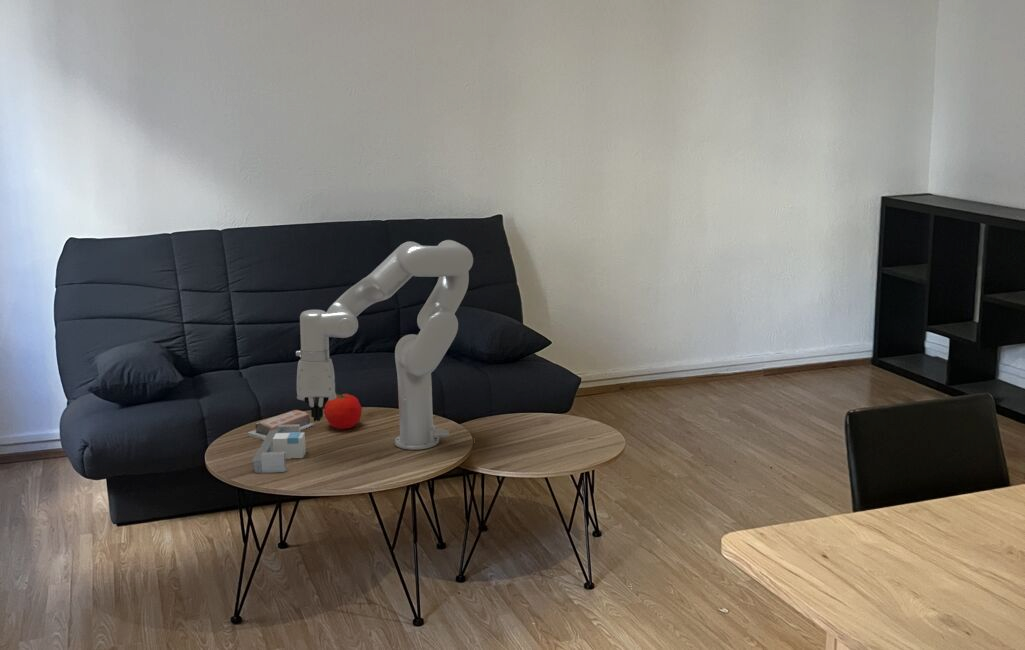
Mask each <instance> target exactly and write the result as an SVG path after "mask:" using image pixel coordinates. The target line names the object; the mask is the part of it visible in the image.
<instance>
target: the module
mask: <svg viewBox="0 0 1025 650" xmlns="http://www.w3.org/2000/svg"><path fill="white" fill-rule="evenodd" d="M305 436H306V434H305V432H303V431H300V432H290V433H276V434H275V436H274V437H273V451H274V452H285V458H286V460H292V459H291V458H303V457H305V456H306V453H307V451H306V450H307V449H306V448H307V447H306V437H305ZM304 455H305V456H304ZM303 459H304V458H303Z"/></svg>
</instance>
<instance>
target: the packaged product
mask: <svg viewBox="0 0 1025 650" xmlns="http://www.w3.org/2000/svg"><path fill="white" fill-rule="evenodd" d="M292 424H300V432H302V431H305V430H307V429H310V428H312V427H311V426H313V427H315V426H316V423H313V422H311V417H310V416H309V413H308V412H307V411H303V410H299V409H294V410H291V411H288V412H284V413H280V414H279V415H275V416H272V417H269V418H267V419H263V420H261V421H258V422H256V423H255V424H254V426H255V429H254V430H251V431H248V432H247V435H248V437H250V438H254V439H257V440H263V441H264V439H265V438H266V436H267V435H268V433H269V431H270V430H278V426H279V425H292ZM314 425H315V426H314ZM309 427H310V428H309ZM306 428H307V429H306ZM304 429H305V430H304ZM301 430H302V431H301Z"/></svg>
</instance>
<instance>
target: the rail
mask: <svg viewBox="0 0 1025 650" xmlns="http://www.w3.org/2000/svg"><path fill="white" fill-rule="evenodd" d="M290 432H301V431H300V424H292V425H279V426H278V430H270V431H269V433H268V435H267V436H266V438H265V439H264V440H263V441H262V443H261V444H260V446H259V447H258V449H257V451H256V453H255V454H254V456H253V458H252V459H251V463H253V465H254V473H255V474H264V473H265V474H266V473H268V474H270V473H273V474H274V473H286V471H287V461H286V460H287V459H286V458H285V452H274V451H273V437H274V436H275V434H276V433H290Z"/></svg>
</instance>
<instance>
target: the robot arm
mask: <svg viewBox="0 0 1025 650" xmlns="http://www.w3.org/2000/svg"><path fill="white" fill-rule="evenodd" d="M473 256H474V255H473V253H472V252H471V250H470V249H469V248H468V247H467V246H465V245H464V244H461V243H460V242H457V241H455V240H452V239H446V240H443V241H441V242H439V243H438V245H421V244H420V243H418V242H415V241H406V242H404V243H401V244H400V245H399V246H398V247H397V248H395V249H394V251H393V252H391V253H390V254H389V255H388V256H387V257H386V258H385V259H384V260H383V261H382V262H381V263H380V264H379V265H377V266H376V268H374V269H373V271H371V273H369V274H368V275H367V276H366V277H363V278H362V279H361V280H359V281H358V282H356V283H354V285H352V286H351V287H350V288H348V289H347V290H346V291H345V292H344V293H342V294H341V295H340V296H339V297H338V298H337V299H336V300H335V301H334V302H333V303H332V304H331V305H330V306H329V307H328V309H327V310H326V311H325V310H322V309H307V310H304V311H302V312H301V313H300V315H299V326H300V327H299V328H300V329H299V330H300V331H299V332H300V334H299V335H300V350H296V351H295V356H296V357H300V359H299V360H298V363H297V368H296V394H297V396H296V399H297V400H300V401H304V402H306V403H307V404H308V405H309V407H310V409H311V411H310V412H311V413H310V414H311V417H310V418H313V422H320V421H321V420H322V418H324V406H325V404H326V403H327V402H328V401H330V400H334V399H336V395H337V394H336V377H335V369H334V364H333V360H332V358H330V339H329V338H340V339H341V338H342V339H345V338H349V337H352V336H354V334H356V333H357V331H358V328H359V320H358V318H357V317H358V316H359V315H360V314H361V313H362V312H363V311H365V310H366V309H367V308H368V307H370V306H371V305H374V304H376V303H378V302H379V303H380V302H382V301H385V300H388V299H389V298H391V297H393V295H395V294H396V293H397V291H398V290H399V289H400V288H402V287H403V286H404V285H405V284H406V283H407V282H408V281H409V280H410V279H411V278H412V277H416V278H417V277H421V278H422V277H423V278H424V277H425V278H426V277H428V278H431V277H432V278H433V277H435V278H436V277H437V278H438V279H437V283H436V284H435V286H434V288H433V289H432V291H431V293H430V295H429V296H428V298H427V300H426V302H425V303H424V305H423V306H422V308H420V311H419V313H418V314H417V319H416V323H417V326H418V329H420V331H419V332H418V333H417V334H415V333H414V334H413V333H412V334H411V333H410V334H406V335H404V336H402V337H401V338H400V339H399V340H398V342H397V343H396V345H395V348H394V349H395V350H394V358H395V359H394V360H395V367H396V373H397V374H396V375H397V377H396V378H397V392H398V393H397V394H398V396H397V397H398V399H397V400H398V415H399V417H398V418H399V421H398V422H399V436H397V437H395V439H394V444H395V446H396V447H398V448H400V449H403V450H413V451H414V450H415V451H416V450H417V451H418V450H425V449H431V448H433V447H436V446H437V445H438V444H439V443H440V438H449V437H450V430H446V429H445V428H441V429H438V428H435V426H436V425H435V423H434V418H433V417H434V416H433V388H432V387H433V386H432V385H433V383H432V372H434V371H435V370H436V368H437V367H438V366H439V365H440V363H441V362H442V361H443V358H444V356H445V355H446V353H447V351H448V350H449V348H450V347H451V345H452V343H453V342H454V340H455V338H456V335H457V333H458V330H459V321H458V318H457V316H456V315H455V314H456V312H457V310H458V309H459V306H460V305H461V303H462V301H463V300H464V297H465V295H466V294H467V290H468V287H469V281H470V278H469V277H470V275H469V271H470V270H471V268H472V267H473V264H474V257H473ZM315 398H318V403H317V402H316V399H315Z"/></svg>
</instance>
